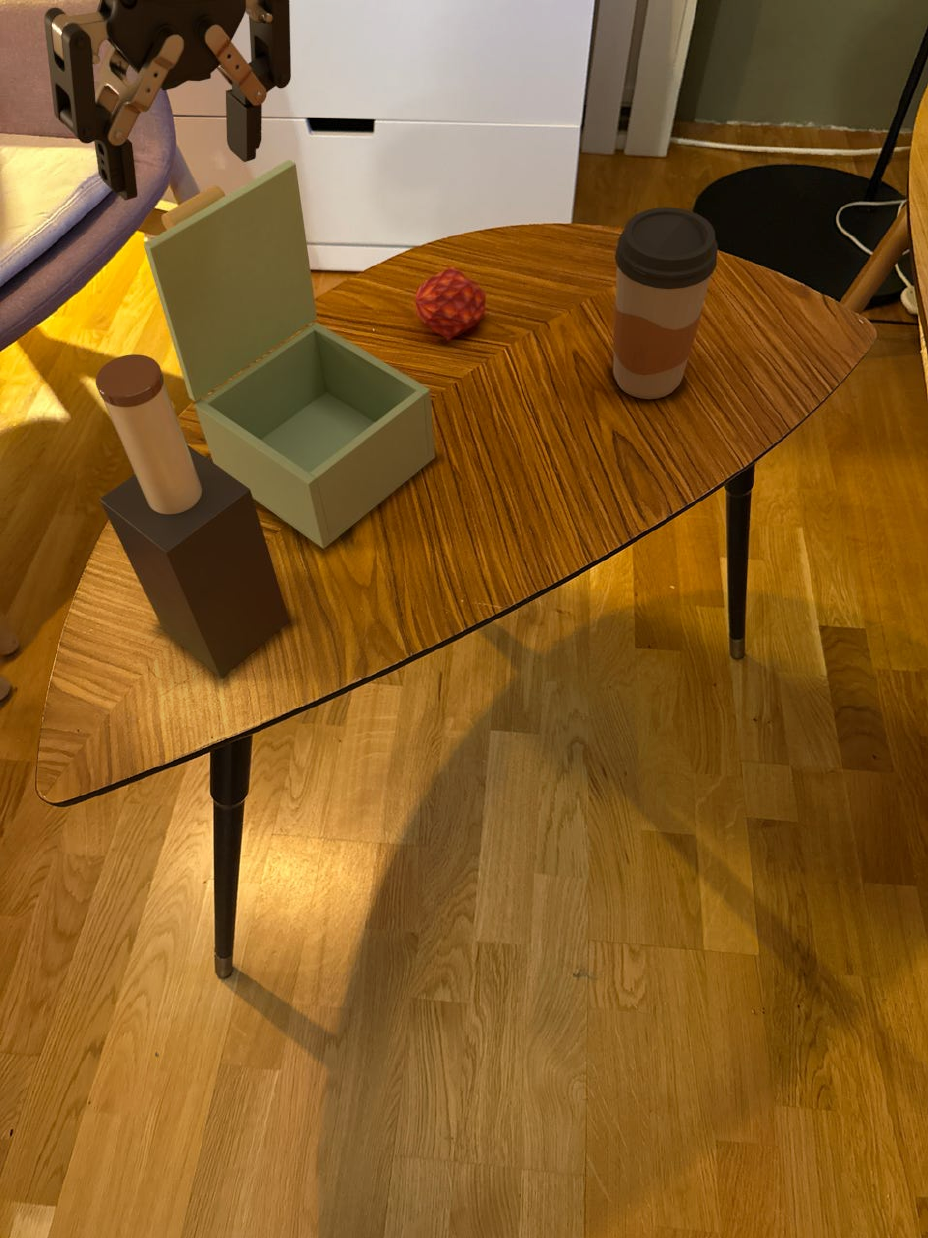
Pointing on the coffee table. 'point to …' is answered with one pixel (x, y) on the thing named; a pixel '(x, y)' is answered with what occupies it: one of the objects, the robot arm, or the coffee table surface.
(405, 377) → the chest
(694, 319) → the coffee cup
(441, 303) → the red faceted ball
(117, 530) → the block
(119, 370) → the canister
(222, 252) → the chest lid
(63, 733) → the coffee table surface
